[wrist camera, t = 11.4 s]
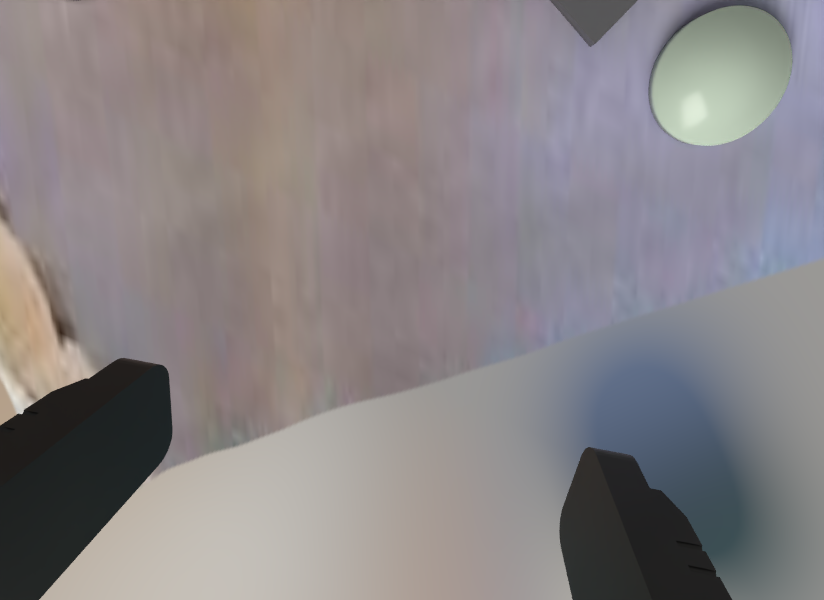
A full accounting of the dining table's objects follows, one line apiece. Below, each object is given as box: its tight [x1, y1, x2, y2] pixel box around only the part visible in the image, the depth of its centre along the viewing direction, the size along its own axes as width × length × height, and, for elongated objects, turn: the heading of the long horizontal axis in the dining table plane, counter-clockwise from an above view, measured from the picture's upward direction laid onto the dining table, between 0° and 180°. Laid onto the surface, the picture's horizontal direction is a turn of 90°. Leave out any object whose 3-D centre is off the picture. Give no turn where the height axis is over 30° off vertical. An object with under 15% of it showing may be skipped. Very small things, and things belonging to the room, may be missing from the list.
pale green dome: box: [649, 6, 792, 146], centre depth 30 cm, size 8×8×1 cm
